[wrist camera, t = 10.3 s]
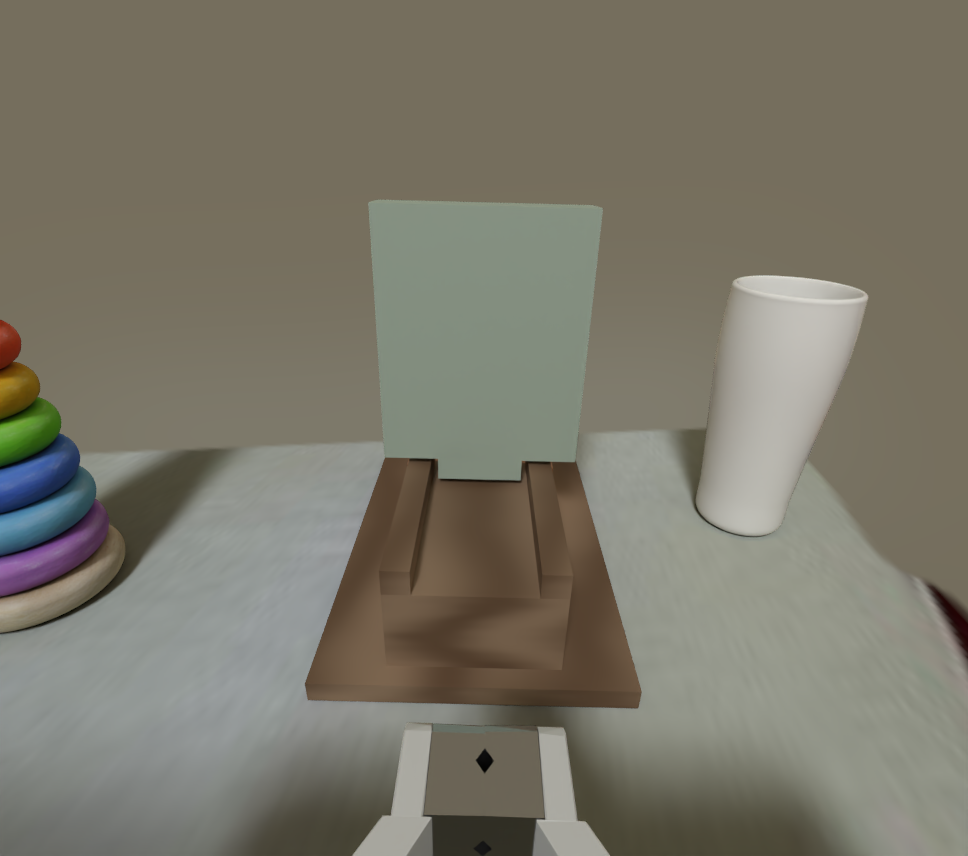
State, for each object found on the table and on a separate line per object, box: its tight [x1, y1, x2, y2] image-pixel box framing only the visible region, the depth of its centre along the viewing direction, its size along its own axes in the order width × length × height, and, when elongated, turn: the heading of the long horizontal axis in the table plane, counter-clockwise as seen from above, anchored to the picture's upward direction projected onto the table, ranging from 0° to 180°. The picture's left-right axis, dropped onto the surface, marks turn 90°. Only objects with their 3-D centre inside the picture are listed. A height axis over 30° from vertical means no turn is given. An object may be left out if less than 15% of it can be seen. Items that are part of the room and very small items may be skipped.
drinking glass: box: [696, 276, 868, 536], centre depth 33 cm, size 7×7×15 cm
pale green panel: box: [369, 200, 603, 480], centre depth 27 cm, size 10×2×14 cm, turn 89°
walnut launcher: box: [305, 457, 642, 708], centre depth 31 cm, size 14×21×6 cm, turn 179°
